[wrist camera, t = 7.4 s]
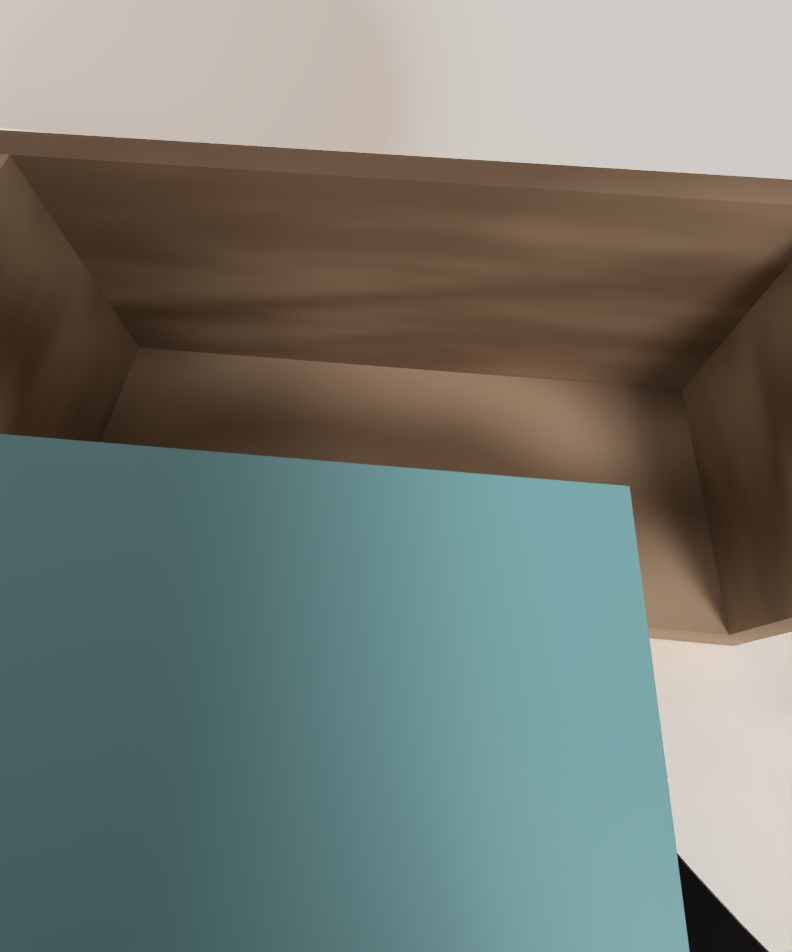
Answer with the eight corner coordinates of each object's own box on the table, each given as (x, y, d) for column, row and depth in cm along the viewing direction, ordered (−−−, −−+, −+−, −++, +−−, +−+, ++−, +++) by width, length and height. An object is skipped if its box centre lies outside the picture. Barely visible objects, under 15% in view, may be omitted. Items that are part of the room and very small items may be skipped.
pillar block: (441, 870, 11) (816, 1939, 1) (259, 849, 11) (-674, 1672, 1) (448, 674, 13) (629, 486, 3) (292, 659, 13) (-15, 433, 3)
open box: (733, 645, 17) (1056, 566, 8) (46, 580, 17) (-254, 451, 9) (684, 393, 21) (866, 184, 13) (138, 351, 22) (-10, 129, 14)
